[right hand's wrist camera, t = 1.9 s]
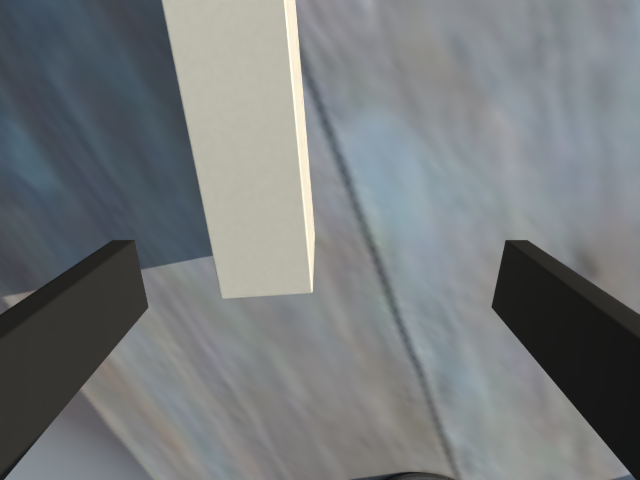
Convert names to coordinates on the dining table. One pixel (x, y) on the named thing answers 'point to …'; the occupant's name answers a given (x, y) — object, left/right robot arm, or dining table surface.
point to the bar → (247, 139)
